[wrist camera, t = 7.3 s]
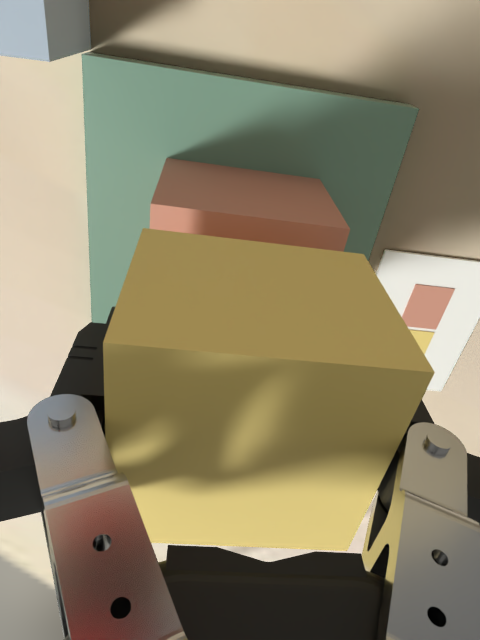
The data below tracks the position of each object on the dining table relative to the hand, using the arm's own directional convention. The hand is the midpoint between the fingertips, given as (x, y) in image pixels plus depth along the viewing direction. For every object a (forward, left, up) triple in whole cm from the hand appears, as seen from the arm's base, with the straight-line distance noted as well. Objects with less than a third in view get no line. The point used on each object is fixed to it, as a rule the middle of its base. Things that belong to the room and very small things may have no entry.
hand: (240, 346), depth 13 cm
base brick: (0, 0, -7) cm, 7 cm away
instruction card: (+4, +10, -8) cm, 14 cm away
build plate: (0, 0, -8) cm, 8 cm away
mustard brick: (0, 0, -1) cm, 1 cm away
